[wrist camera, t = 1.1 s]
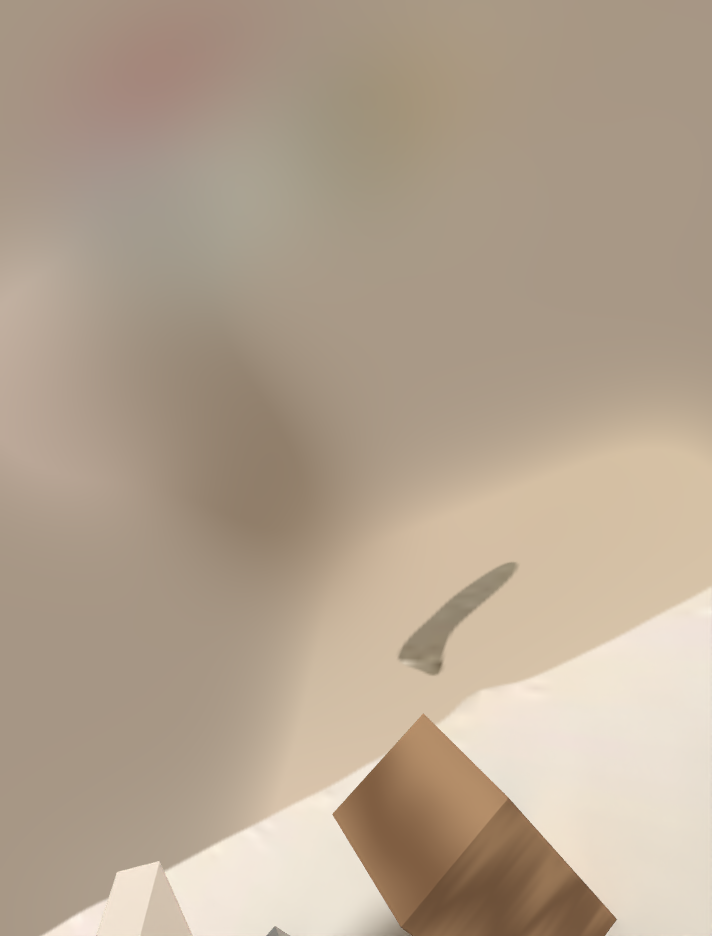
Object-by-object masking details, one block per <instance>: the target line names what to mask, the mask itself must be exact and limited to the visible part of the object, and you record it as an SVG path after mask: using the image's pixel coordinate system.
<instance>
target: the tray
mask: <svg viewBox="0 0 712 936" xmlns="http://www.w3.org/2000/svg"><path fill="white" fill-rule="evenodd" d="M267 936H290V935H288V934H286V933H285V932H283V931H282V930H280V929H279V928H277V927H276V926H275V927H274V928H273V929H272V930H271V931H270V932H269V934H268V935H267Z"/></svg>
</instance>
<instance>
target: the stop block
mask: <svg viewBox="0 0 712 936" xmlns="http://www.w3.org/2000/svg"><path fill="white" fill-rule="evenodd" d="M333 816H334V818H335V819H336V821H337V823H338V824H339V826H340V828H341V829H342V831H343V833H344V834H345V836H346V838H347V839H348V841H349V842H350V844H351V846H352V847H353V849H354V851H355V852H356V854H357V856H358V857H359V859H360V861H361V862H362V864H363V865H364V867H365V869H366V870H367V872H368V874H369V875H370V877H371V879H372V880H373V882H374V884H375V885H376V887H377V888H378V890H379V892H380V893H381V895H382V897H383V898H384V900H385V902H386V903H387V905H388V907H389V908H390V910H391V912H392V913H393V915H394V916H395V918H396V920H397V921H398V923H399V925H400V926H401V928H403V929H404V930H405V931H407V932H408V933H409V934H411V935H412V936H605V935H606V933H607V932H608V931H609V929H610V928H611V927H612V925H613V924H614V923H615V921H616V920H617V919H616V918H615V917H614V915H613V914H612V913H611V912H610V911H609V910H608V909H607V908H606V907H605V905H604V904H603V903H602V902H601V901H600V900H599V899H598V898H597V896H596V895H595V894H594V893H593V892H592V891H591V890H590V889H589V887H588V886H587V885H586V884H585V883H584V882H583V881H582V880H581V879H580V877H579V876H578V875H577V874H576V873H575V872H574V871H573V870H572V868H571V867H570V866H569V865H568V864H567V863H566V862H565V861H564V859H563V858H562V857H561V856H560V855H559V854H558V853H557V852H556V851H555V849H554V848H553V847H552V846H551V845H550V844H549V843H548V842H547V840H546V839H545V838H544V837H543V836H542V835H541V834H540V833H539V831H538V830H537V829H536V828H535V827H534V826H533V825H532V824H531V823H530V821H529V820H528V819H527V818H526V817H525V816H524V815H523V814H522V812H521V811H520V810H519V809H518V808H517V807H516V806H515V805H514V803H513V802H512V801H511V800H510V799H509V798H508V797H507V796H506V795H505V794H504V793H503V792H502V791H501V790H500V789H499V788H498V787H497V786H496V785H495V784H494V783H493V782H492V781H491V780H490V779H489V778H488V777H487V776H486V775H485V774H484V773H483V772H482V771H481V770H480V769H479V768H478V767H477V766H476V765H475V764H474V763H473V762H472V761H471V760H470V759H469V758H468V757H467V756H466V755H465V754H464V753H463V752H462V751H461V750H460V749H459V748H458V747H457V746H456V745H455V744H454V743H453V742H452V741H451V740H450V739H449V738H448V737H447V736H446V735H445V734H444V733H443V732H442V731H441V730H439V729H438V728H437V727H436V726H435V725H434V724H433V723H432V722H431V721H430V720H429V719H428V718H427V717H426V716H425V715H424V714H423V715H422V716H421V717H420V718H419V719H418V720H417V721H416V722H415V723H414V725H413V726H412V727H411V728H410V729H409V730H408V731H407V732H406V734H404V736H403V737H402V738H401V739H400V740H399V741H398V742H397V743H396V745H395V746H394V747H393V748H392V749H391V750H390V751H389V752H388V753H387V754H386V755H385V757H384V758H383V759H382V760H381V761H380V762H379V763H378V764H377V765H376V766H375V768H374V769H373V770H372V771H371V772H370V773H369V774H368V775H367V776H366V778H365V779H364V780H363V781H362V782H361V783H360V784H359V785H358V786H357V787H356V789H355V790H354V791H353V792H352V793H351V794H350V795H349V796H348V797H347V799H346V800H345V801H344V802H343V803H342V804H341V805H340V806H339V807H338V808H337V810H336V811H335V812H334V813H333Z"/></svg>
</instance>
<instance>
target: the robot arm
mask: <svg viewBox="0 0 712 936" xmlns="http://www.w3.org/2000/svg"><path fill="white" fill-rule="evenodd" d="M96 936H193V935H192V933H191V931H190V929H189V926H188V924H187V922H186V920H185V917H184V915H183V913H182V911H181V908H180V906H179V904H178V901H177V899H176V897H175V895H174V892H173V890H172V888H171V886H170V883H169V881H168V879H167V877H166V874H165V872H164V870H163V867H162V866H161V863H160V861H158V862H154V863H150V864H147V865H143V866H139V867H135V868H131V869H128V870H124V871H120V872H117V874H116V877H115V881H114V884H113V887H112V890H111V893H110V896H109V899H108V902H107V905H106V908H105V911H104V914H103V917H102V920H101V923H100V926H99V929H98V932H97V935H96Z"/></svg>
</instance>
